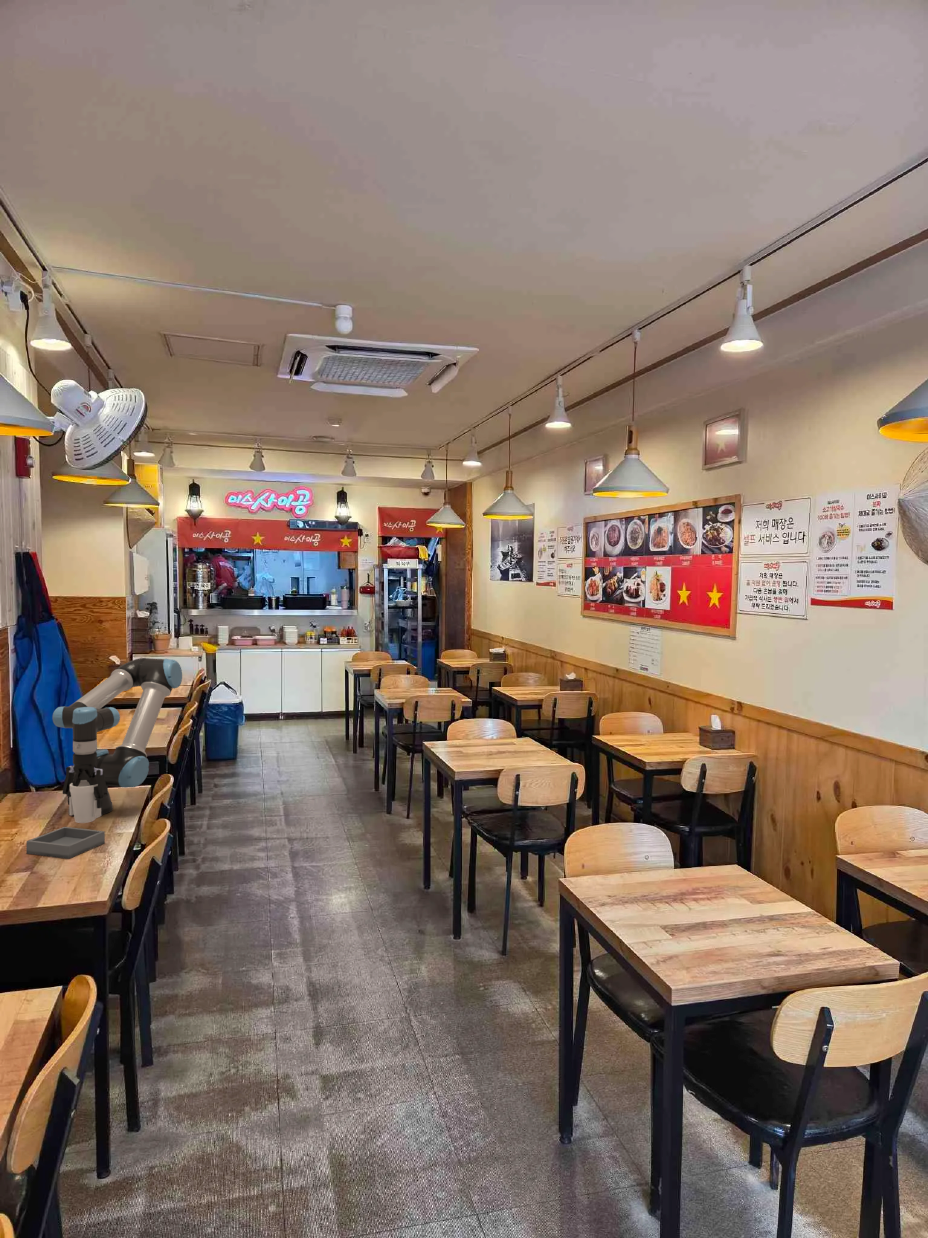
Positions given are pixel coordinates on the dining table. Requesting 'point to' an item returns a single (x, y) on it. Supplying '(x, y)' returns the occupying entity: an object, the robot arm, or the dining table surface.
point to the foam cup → (83, 801)
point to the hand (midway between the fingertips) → (85, 815)
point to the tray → (65, 842)
